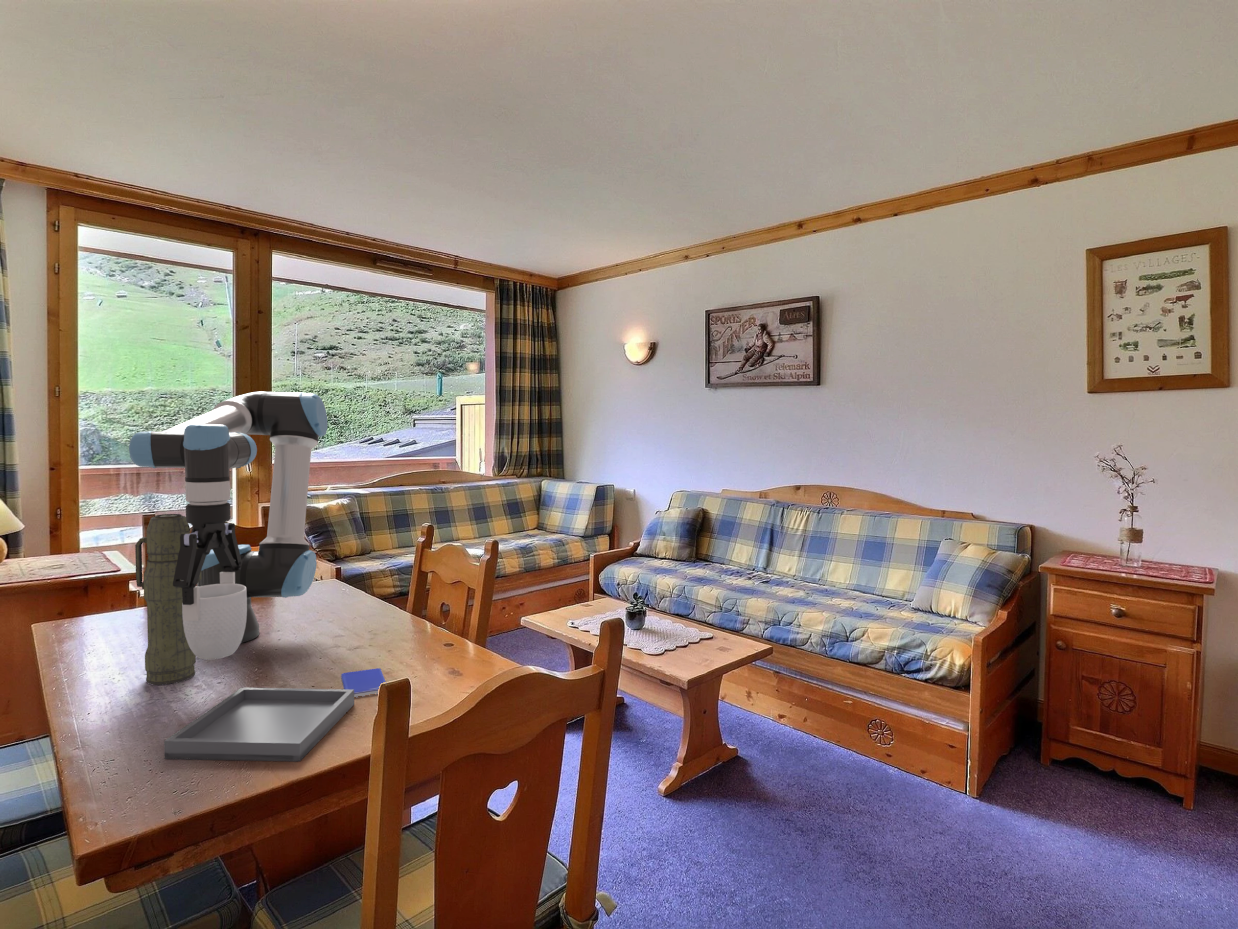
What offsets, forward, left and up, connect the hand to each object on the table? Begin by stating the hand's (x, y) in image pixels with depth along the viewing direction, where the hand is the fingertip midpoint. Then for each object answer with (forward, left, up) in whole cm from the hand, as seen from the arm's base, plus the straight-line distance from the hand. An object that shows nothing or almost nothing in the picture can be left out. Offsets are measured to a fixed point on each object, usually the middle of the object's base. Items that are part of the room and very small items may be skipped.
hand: (210, 611), depth 130 cm
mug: (-1, 0, -9) cm, 9 cm away
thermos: (-9, -14, -17) cm, 24 cm away
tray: (+14, +19, -17) cm, 29 cm away
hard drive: (-7, +28, -18) cm, 34 cm away
